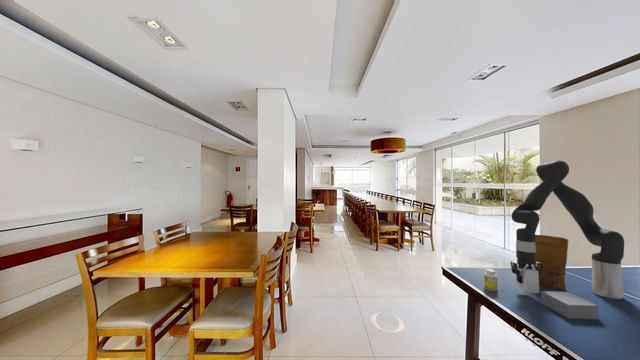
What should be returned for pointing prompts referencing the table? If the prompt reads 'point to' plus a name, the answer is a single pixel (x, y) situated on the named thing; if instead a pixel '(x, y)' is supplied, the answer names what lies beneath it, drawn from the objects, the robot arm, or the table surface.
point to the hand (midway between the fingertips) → (526, 282)
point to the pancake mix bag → (552, 260)
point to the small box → (529, 281)
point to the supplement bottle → (490, 280)
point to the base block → (569, 305)
